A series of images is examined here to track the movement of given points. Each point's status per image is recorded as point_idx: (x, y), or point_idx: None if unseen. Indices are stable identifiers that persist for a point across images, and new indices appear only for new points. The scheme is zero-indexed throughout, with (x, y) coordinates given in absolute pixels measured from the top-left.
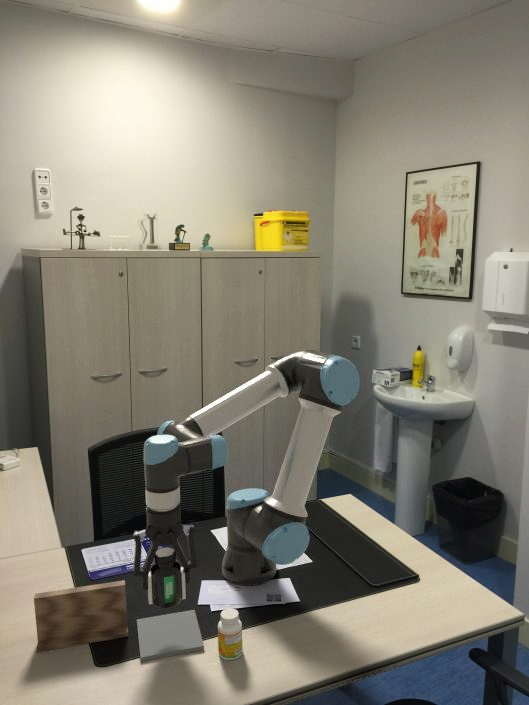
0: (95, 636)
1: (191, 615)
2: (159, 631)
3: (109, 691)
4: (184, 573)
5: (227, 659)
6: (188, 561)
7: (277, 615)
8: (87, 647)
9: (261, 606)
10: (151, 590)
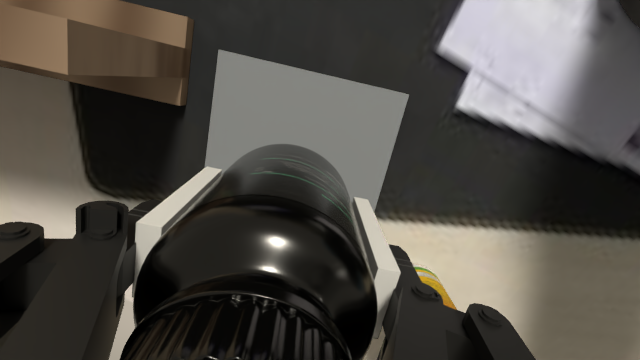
0: (76, 78)
1: (387, 120)
2: None
3: None
4: (374, 335)
5: None
6: (446, 333)
7: (596, 218)
8: (63, 96)
9: (591, 161)
10: None
